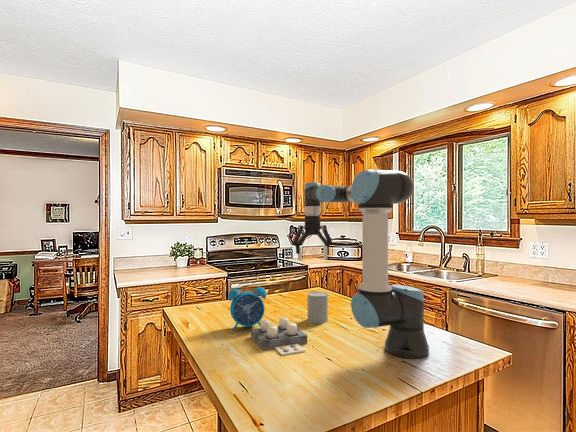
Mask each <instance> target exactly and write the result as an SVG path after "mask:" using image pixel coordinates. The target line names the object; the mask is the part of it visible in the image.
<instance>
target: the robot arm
mask: <svg viewBox="0 0 576 432" xmlns="http://www.w3.org/2000/svg"><path fill="white" fill-rule="evenodd" d="M414 186H415V185H414V181H413V179H412V177H410V176H409V174H407V173H406V172H403V171H400V170H389V169H387V170H385V169H373V168H372V169H363V170H361V171H359V172H358V173H356V175H355V177H354V178H353V180H352V183H351V185H329V184H320V182H315V181H314V182H306V183H305V184H304V191H303V192H304V194H303V195H304V215H305V216H304V225H298V229H297V231H296V234H295V236H294V239H292V240H293V241H292V242H291V243H292V244H291V245H292V246H294V247H295V253H296V254H297V261H298V262H302V244H303V242H305V240H306V239H307V238H308V236H313V235H314V236H317V237H318V238H319V239H320V240H321V241H322V243H323V246H322V249H323V250H322V251H323V252H322V253H323V254H322V255H323V257H322V258H323V260H328V253H329V252H330V251H329V249H330V247H329V246H331V245H333V241H332V238H331V235H330V234H329V232H328V230H327V225H326V224H322V225H321V203H348V204H350V203H351V204H352V203H356V204H357V205H358V206H357V209H358V210H359V211H360V212H361V213H362V264H361V265H362V266H361V267H362V269H361V270H362V273H361V274H362V275H361V276H362V280H361V281H362V282H361V283H360V284H359V285H358V286H357V293H355V294H353V296H352V298H351V300H350V308H351V312H352V315H353V317H354V319H355V322H357V324H358V325H360V326H361V327H363V328H364V329H373V328H374V329H377V328H381V327H386V326H387V327H388V326H389V329H388V333H387V335H386V339H385V341H384V350H385V351H386V352H388V353H389V354H390V355H393V356H396V357H398V358H399V357H400V358H403V359H410V360H411V359H413V360H414V359H415V360H416V359H422V358H423V359H424V358H426V357H428V355H430V347H429V344H428V341H427V336H426V334H425V331H424V329H425V328H424V327H425V326H424V325H425V324H424V322H425V321H424V319H425V318H424V317H425V316H424V315H425V310H424V309H425V300H424V292H423V290H421V289H420V288H416V287H413V286H408V285H402V284H401V285H400V284H389V214H390V213H391V211H392V210H393V208H394V204H396V205H397V204H401V203H405V202H406V201H408V200H409V199H410V198H411V197H412V195H413V193H414V191H415V189H414V188H415V187H414ZM321 230H322V232H321ZM303 231H304V232H303ZM302 233H303V234H302ZM322 233H323V234H324V235H323V234H322ZM301 235H302V236H301Z"/></svg>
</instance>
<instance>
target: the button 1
mask: <svg viewBox="0 0 576 432" xmlns="http://www.w3.org/2000/svg"><path fill="white" fill-rule="evenodd" d="M259 322H260V326H259V327H260V330H261V331H263V332H267V327H268V326H271V320H270V319H261V320H260V321H259Z"/></svg>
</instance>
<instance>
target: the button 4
mask: <svg viewBox="0 0 576 432" xmlns="http://www.w3.org/2000/svg"><path fill="white" fill-rule="evenodd" d="M297 328H298V323H295V322H294V323H293V322H289V323H288V324H287V335H296V334H297Z"/></svg>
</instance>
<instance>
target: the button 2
mask: <svg viewBox="0 0 576 432" xmlns="http://www.w3.org/2000/svg"><path fill="white" fill-rule="evenodd" d="M277 326H278V325H270V326H268V327H267V337H268V338H276V337H278V327H277Z"/></svg>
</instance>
